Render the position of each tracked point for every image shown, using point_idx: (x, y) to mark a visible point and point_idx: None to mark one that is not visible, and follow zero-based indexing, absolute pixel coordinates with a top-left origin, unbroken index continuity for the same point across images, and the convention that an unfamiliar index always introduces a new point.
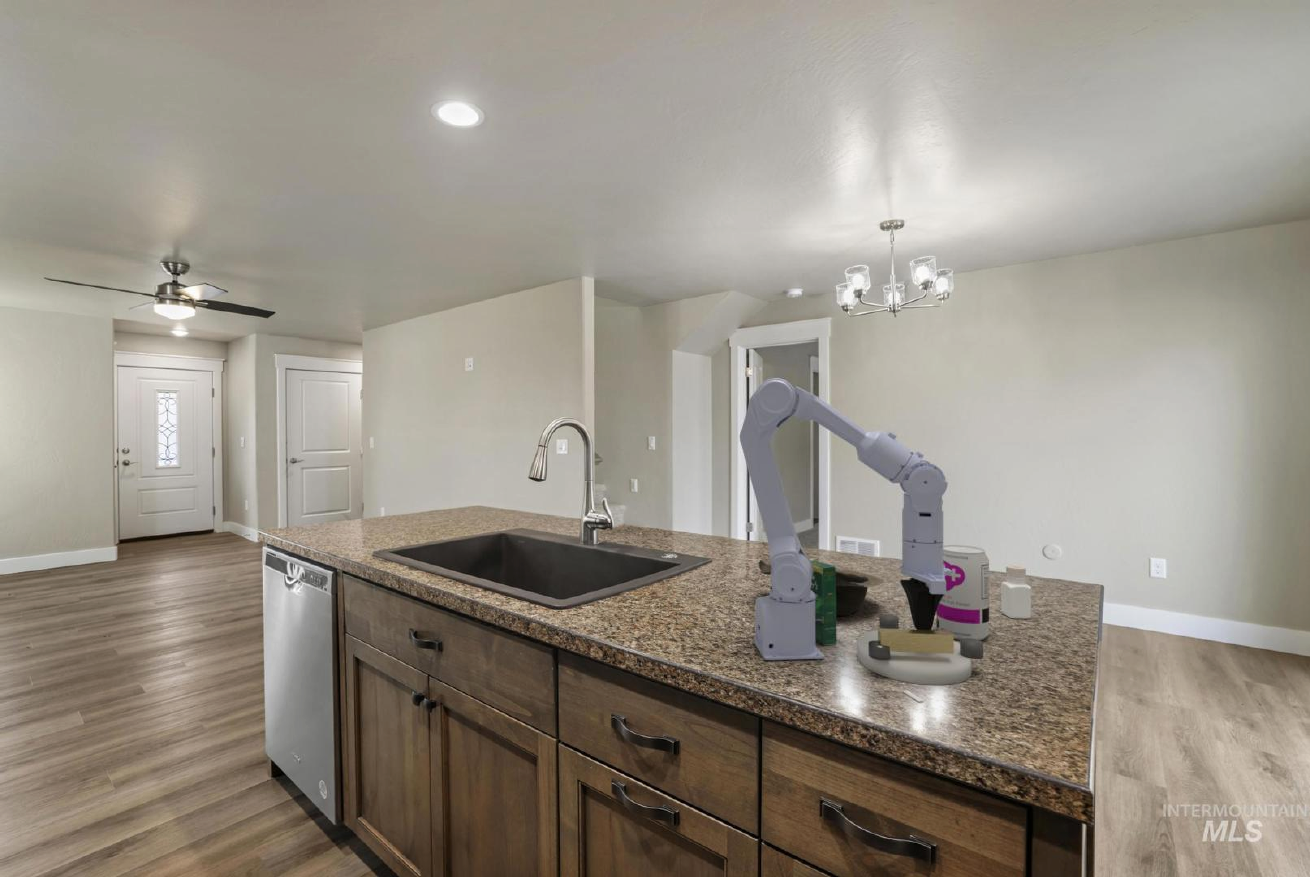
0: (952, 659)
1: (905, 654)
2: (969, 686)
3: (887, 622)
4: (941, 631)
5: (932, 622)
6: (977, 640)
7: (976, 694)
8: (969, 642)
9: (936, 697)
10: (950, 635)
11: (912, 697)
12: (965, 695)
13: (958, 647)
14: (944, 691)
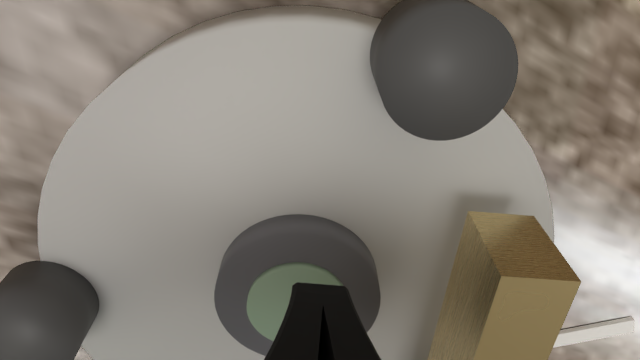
0: (475, 179)
1: (395, 335)
2: (553, 118)
3: (77, 351)
4: (506, 318)
5: (359, 319)
6: (427, 23)
7: (627, 127)
8: (458, 97)
9: (609, 268)
10: (571, 293)
11: (602, 337)
12: (623, 171)
13: (306, 70)
14: (573, 226)
